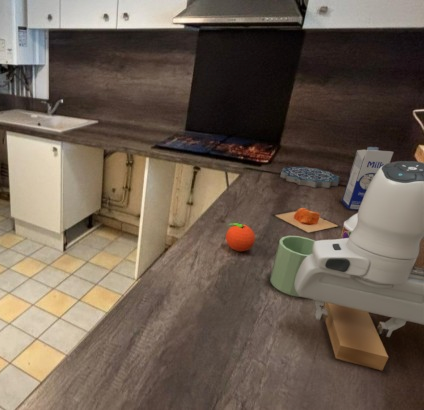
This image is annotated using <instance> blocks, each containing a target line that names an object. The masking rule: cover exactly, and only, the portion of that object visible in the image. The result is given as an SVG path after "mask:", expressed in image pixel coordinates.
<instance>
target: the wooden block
mask: <svg viewBox="0 0 424 410" xmlns="http://www.w3.org/2000/svg"><path fill="white" fill-rule="evenodd" d="M323 308H324V309H327V313H328V317H327V318H326V322H325V325H326V329H327V332H328V336H329V340H330V343H331V346H332V350H333V353H334V358H335V359H337V360H340V361H342V362H343V361H344V362H347V363H352V364H356V365H359V366H363V367H365V368H369V369H375V370H378V371H381V372H383V370H384V368H385V366H386V363H387V362H388V359H389V355H388V353H387V350H386V348H385V346H384V344H383V342H382V340H381V338H380V335H378V332H377V327H376V326H375V324H374V321H373V319H372V317H371V314H370V312H366V311H361V310H357V309H353V308H348V307H344V306H339V305H335V304H331V303H326V302H325V303H324V306H323Z"/></svg>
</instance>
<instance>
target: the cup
mask: <svg viewBox="0 0 424 410" xmlns="http://www.w3.org/2000/svg"><path fill="white" fill-rule="evenodd" d="M315 241H316V240H314V239H311V238H308V237H305V236H299V235H286V236H282V237H281V238H280V239H279V240H278V244H277V249H276V253H275V257H274V260H273V264H272V268H271V273H270V278H269V280H270V281H269V282H270V283H271V285H272V286H273V287H274V288H275V289H276V290H278V291H280V292H282V293H283V294H286V295H289V296H291V297H297V298H301V297H300V296H299V295H298V294H297V292H296V290H295V286H294V281H295V278H296V275H297V272H298V270H299V268H300V266H301V264H302V262H303V260H304V259H305V258H306V257H307V256H308V255H310V254H313V252H312V247H313V243H314V242H315Z"/></svg>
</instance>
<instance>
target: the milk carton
mask: <svg viewBox="0 0 424 410" xmlns="http://www.w3.org/2000/svg"><path fill="white" fill-rule="evenodd" d="M379 149H380V148H379V147H377V146H367V148H366V149H358V150H356V153H355V157H354V161H353V164H352V167H351V169H350V173H349V176H348V179H347V183H346V186H345V189H344V192H343V195H342V197H341V203H342V205H344V206H345V207H346V208H347V209H348V210H352V211H359V208H360V205H361V202H362V200H363V197H364V195H365V193H366V191H367V189H368V187H369V185H370V183H371V181H372V179H373V178H374V176H375V174H376V173H377V171H378V170H379V169H380V168H381V167H382V166H383V165H385V164H388V163H391V160H392V158H393V155H394V153H395V152H394V151H390V150H379Z"/></svg>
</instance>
